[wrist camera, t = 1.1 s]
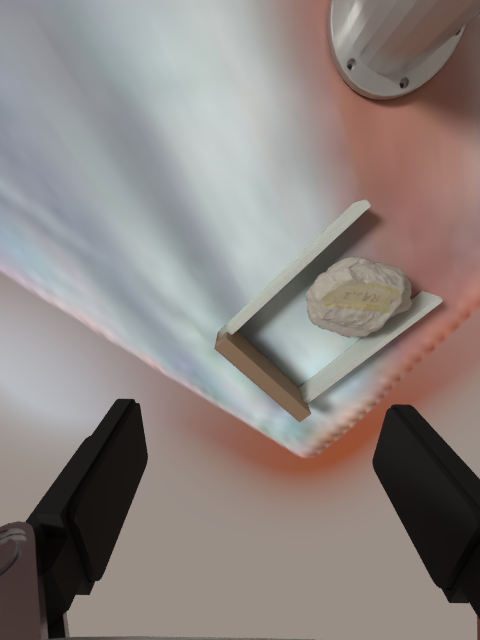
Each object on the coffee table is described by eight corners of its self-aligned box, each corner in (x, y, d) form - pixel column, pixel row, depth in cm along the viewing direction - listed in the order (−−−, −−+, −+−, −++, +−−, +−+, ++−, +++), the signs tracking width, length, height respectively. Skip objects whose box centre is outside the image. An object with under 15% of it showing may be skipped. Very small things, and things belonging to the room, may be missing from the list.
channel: (354, 202, 29) (376, 197, 25) (425, 295, 33) (456, 306, 28) (217, 332, 35) (214, 348, 30) (292, 398, 39) (299, 422, 34)
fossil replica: (393, 314, 34) (382, 241, 32) (444, 333, 26) (435, 236, 24) (308, 341, 35) (290, 270, 32) (333, 367, 27) (312, 275, 24)
